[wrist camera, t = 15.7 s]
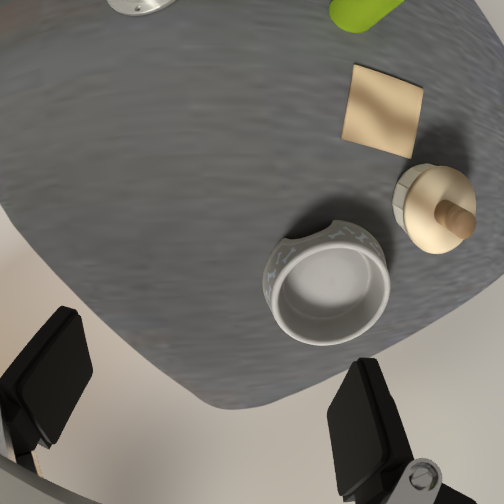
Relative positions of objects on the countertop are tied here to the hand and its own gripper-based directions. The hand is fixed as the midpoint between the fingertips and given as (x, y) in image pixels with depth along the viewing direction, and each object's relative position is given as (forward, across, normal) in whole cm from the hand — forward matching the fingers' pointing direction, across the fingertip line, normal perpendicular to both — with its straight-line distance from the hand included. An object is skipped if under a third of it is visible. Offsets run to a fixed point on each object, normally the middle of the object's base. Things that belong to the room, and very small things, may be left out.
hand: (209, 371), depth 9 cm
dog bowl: (+31, -13, +12) cm, 35 cm away
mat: (+30, -15, -13) cm, 36 cm away
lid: (+26, -24, -3) cm, 35 cm away
